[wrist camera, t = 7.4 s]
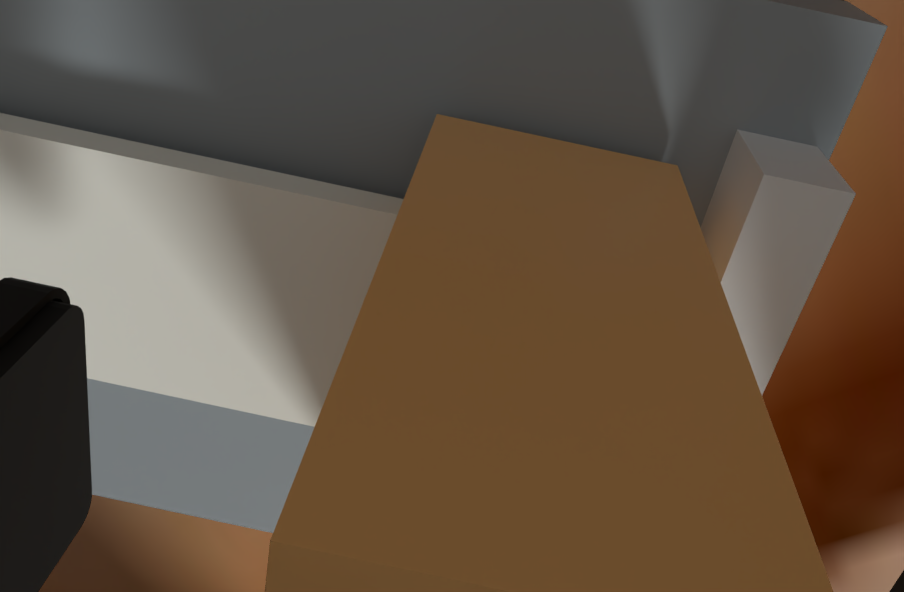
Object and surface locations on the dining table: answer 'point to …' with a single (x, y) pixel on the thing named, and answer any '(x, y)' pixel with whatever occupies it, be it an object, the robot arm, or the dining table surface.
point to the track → (407, 128)
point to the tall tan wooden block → (436, 356)
